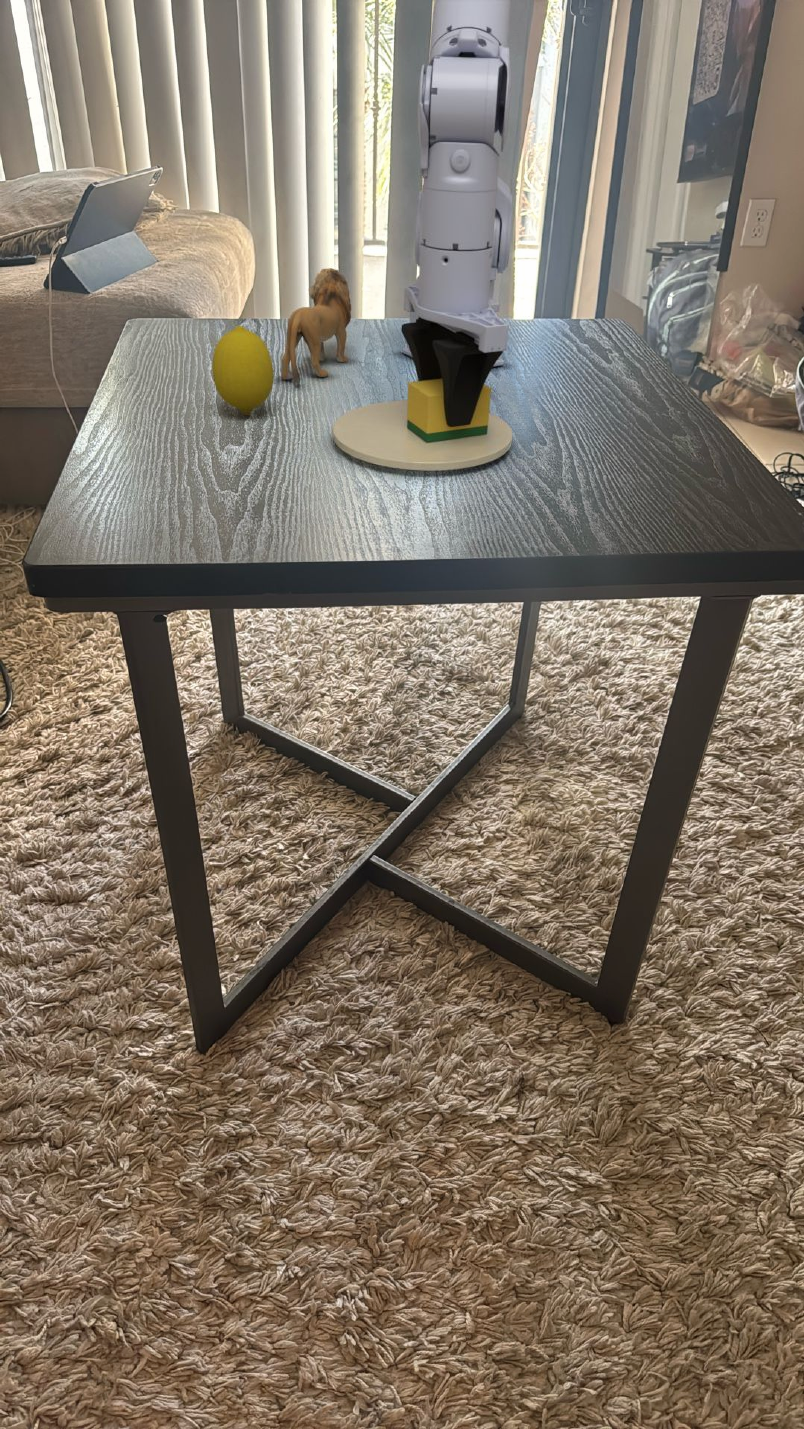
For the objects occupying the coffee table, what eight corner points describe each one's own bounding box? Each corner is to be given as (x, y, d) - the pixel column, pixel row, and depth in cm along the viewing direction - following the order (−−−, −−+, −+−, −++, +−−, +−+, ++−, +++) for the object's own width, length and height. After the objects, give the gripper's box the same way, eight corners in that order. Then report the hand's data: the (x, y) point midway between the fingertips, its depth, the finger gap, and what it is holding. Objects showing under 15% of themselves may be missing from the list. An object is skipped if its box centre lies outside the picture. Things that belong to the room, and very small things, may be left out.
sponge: (406, 428, 81) (408, 382, 79) (466, 420, 83) (469, 375, 81) (426, 443, 78) (428, 396, 76) (487, 434, 80) (491, 388, 78)
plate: (302, 429, 84) (301, 415, 83) (447, 404, 91) (448, 391, 90) (390, 491, 73) (390, 475, 72) (547, 457, 80) (549, 443, 79)
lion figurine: (313, 348, 105) (311, 263, 100) (358, 352, 105) (358, 266, 99) (273, 386, 94) (268, 291, 88) (323, 390, 93) (321, 296, 88)
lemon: (234, 402, 89) (226, 315, 85) (285, 410, 88) (280, 322, 83) (206, 419, 85) (196, 329, 80) (259, 428, 84) (253, 336, 79)
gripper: (549, 259, 68) (529, 438, 76) (458, 227, 78) (449, 387, 86) (466, 264, 65) (454, 449, 73) (383, 230, 76) (381, 395, 84)
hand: (446, 416), depth 80 cm, fingers closed on sponge, 4 cm apart
